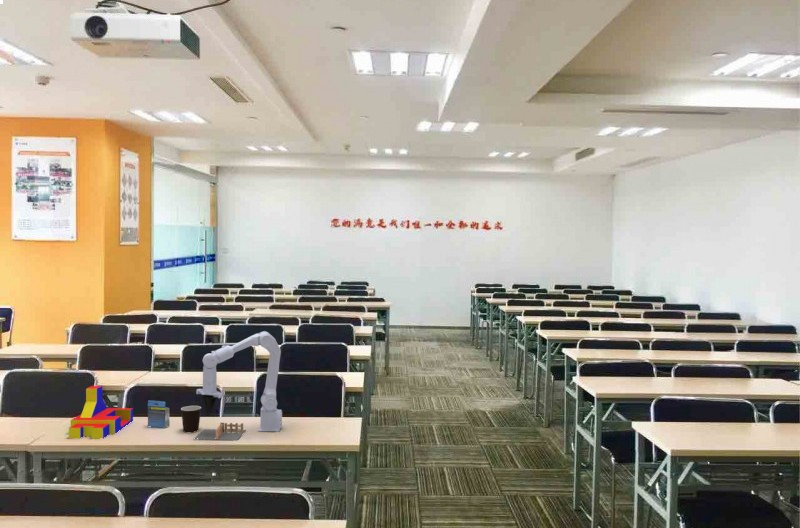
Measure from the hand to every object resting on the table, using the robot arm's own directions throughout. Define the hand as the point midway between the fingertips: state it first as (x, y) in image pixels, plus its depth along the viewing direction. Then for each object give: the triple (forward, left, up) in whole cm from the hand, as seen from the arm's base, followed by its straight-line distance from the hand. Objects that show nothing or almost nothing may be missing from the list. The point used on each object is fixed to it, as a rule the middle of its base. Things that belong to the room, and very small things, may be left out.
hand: (209, 412), depth 253 cm
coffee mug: (+10, -7, -10) cm, 16 cm away
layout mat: (-5, +1, -10) cm, 11 cm away
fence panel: (-5, +3, -9) cm, 11 cm away
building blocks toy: (+50, -5, -10) cm, 52 cm away
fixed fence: (-9, -2, -10) cm, 14 cm away
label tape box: (+26, -10, -10) cm, 30 cm away
